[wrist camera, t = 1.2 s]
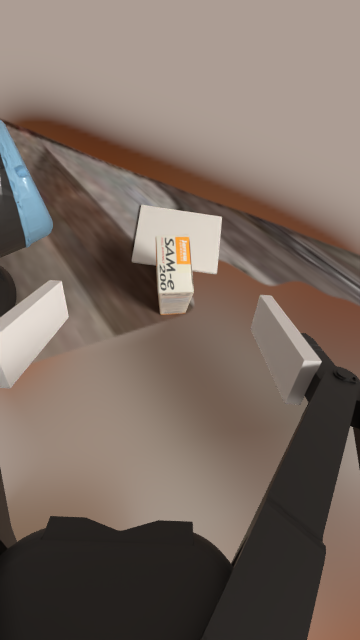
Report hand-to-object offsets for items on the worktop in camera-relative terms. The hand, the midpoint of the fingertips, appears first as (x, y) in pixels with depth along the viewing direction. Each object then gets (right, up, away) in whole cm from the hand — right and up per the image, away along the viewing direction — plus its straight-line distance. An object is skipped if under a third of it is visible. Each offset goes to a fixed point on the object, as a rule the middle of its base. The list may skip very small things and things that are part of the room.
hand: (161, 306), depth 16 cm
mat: (+1, +15, +29) cm, 33 cm away
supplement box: (0, +4, +27) cm, 28 cm away
